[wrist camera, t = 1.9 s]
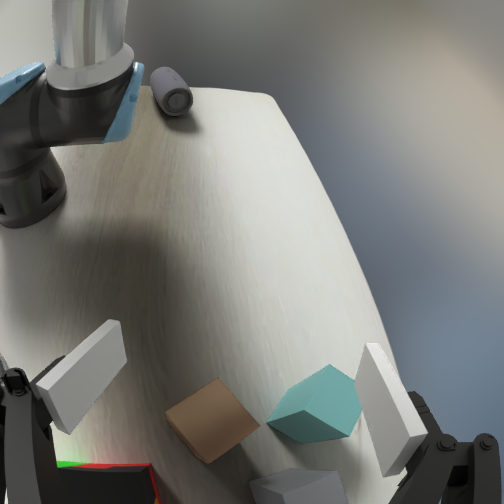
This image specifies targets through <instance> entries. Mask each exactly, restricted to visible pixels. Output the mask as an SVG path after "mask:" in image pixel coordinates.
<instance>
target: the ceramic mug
mask: <svg viewBox="0 0 504 504" xmlns="http://www.w3.org/2000/svg"><path fill="white" fill-rule="evenodd" d="M0 360H1V362H2V364H3V368H4V370H5V371H6V370H8V369H9V368H8V366H7V363H6V361H5V359H4V358H3V356H2V355H1V354H0ZM1 386H3V387H5V385H4V383H3V382H2V383H1Z"/></svg>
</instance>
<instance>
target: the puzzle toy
mask: <svg viewBox="0 0 504 504" xmlns="http://www.w3.org/2000/svg"><path fill="white" fill-rule="evenodd" d="M56 462H57V467H58V472H59V476H60V481H61V485H62V489H63V493H64V497H65V500H66V504H162V503H161V499H160V496H159V493H158V489H157V486H156V482H155V478H154V475H153V471H152V467H151V463H148V464H91V463H77V462H67V461H56Z"/></svg>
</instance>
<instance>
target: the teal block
mask: <svg viewBox="0 0 504 504" xmlns="http://www.w3.org/2000/svg"><path fill="white" fill-rule="evenodd" d="M354 382H355V381H354V380H353V379H351V378H350V377H348V376H347V375H345V374H344V373H342V372H341V371H339V370H338V369H336V368H335V367H333V366H332V365H330V364H329V365H327V366H326V367H324V368H323V369H321V370H320V371H318V372H316V373H315V374H313V375H312V376H310V377H308V378H307V379H305V380H303V381H302V382H300V383H298V384H297V385H295V386H293V387H292V388H290V389H288V391H287V392H286V394H285V395H284V397H283V398H282V400H281V401H280V403H279V404H278V406H277V407H276V409H275V410H274V412H273V413H272V415H271V416H270V418H269V419H268V420H267V422H266V423H268V424H269V425H271V426H272V427H274V428H275V429H277V430H279V431H280V432H282V433H284V434H285V435H287V436H289V437H290V438H292V439H294V440H296V441H297V442H299V443H301V444H303V443H311V442H319V441H326V440H332V439H338V438H344V437H349V436H350V434H351V432H352V430H353V428H354V426H355V424H356V422H357V420H358V418H359V415H360V413H361V411H362V407H361V404H360V401H359V398H358V395H357V392H356V389H355V386H354Z"/></svg>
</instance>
